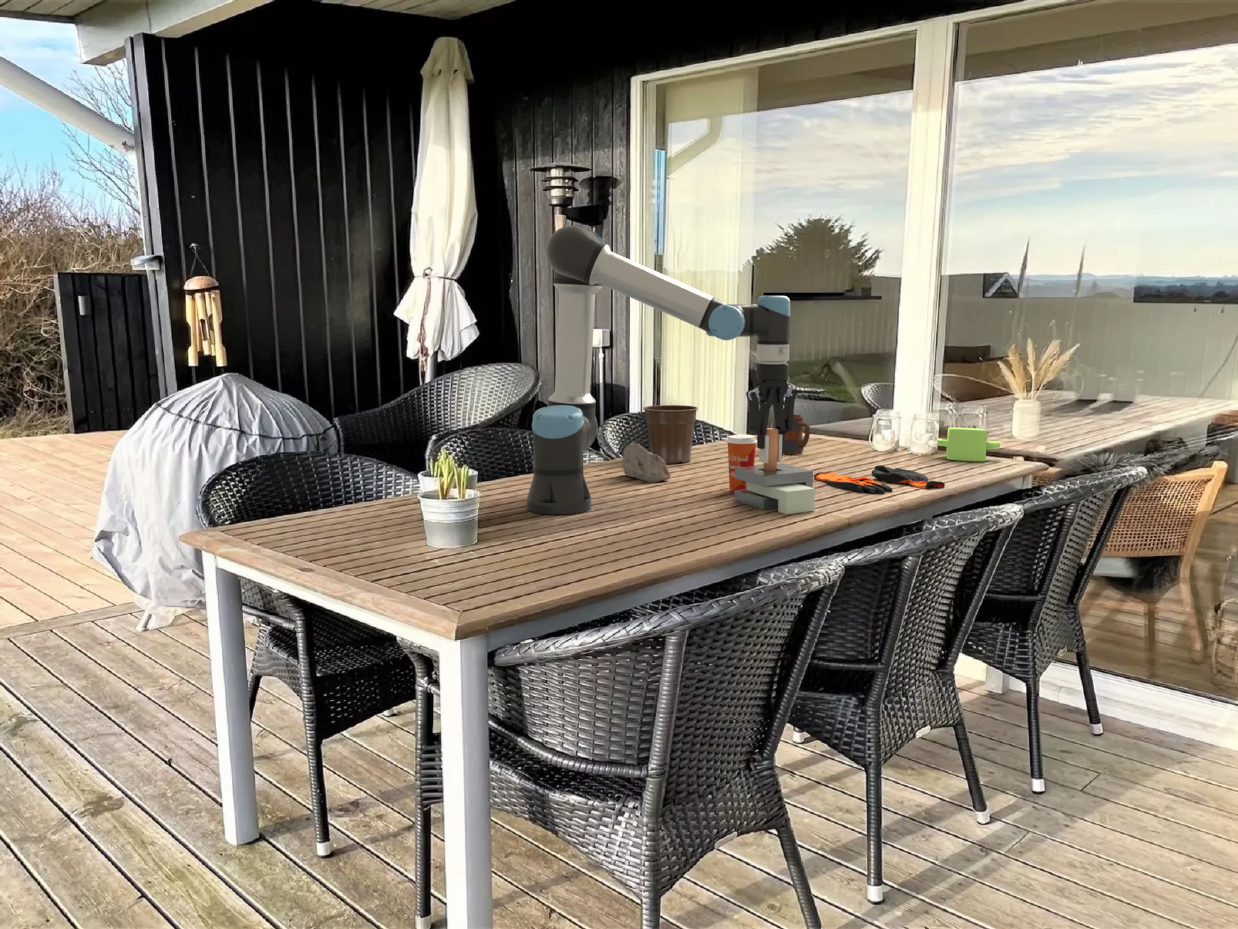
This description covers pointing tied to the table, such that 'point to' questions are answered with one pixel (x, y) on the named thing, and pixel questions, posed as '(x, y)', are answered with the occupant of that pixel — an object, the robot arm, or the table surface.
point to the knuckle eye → (788, 496)
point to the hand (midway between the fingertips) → (770, 461)
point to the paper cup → (740, 457)
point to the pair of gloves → (880, 474)
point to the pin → (772, 450)
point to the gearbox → (967, 444)
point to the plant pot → (671, 431)
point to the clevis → (769, 483)
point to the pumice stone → (644, 464)
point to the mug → (796, 437)
